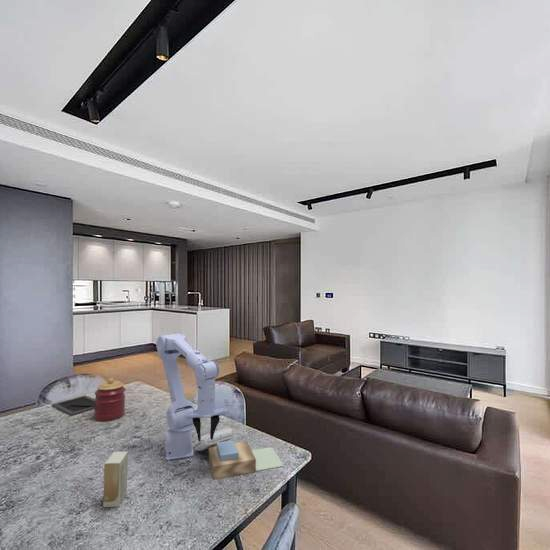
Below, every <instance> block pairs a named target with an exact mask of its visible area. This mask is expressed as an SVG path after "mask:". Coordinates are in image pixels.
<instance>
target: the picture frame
mask: <svg viewBox="0 0 550 550" xmlns="http://www.w3.org/2000/svg"><path fill="white" fill-rule="evenodd" d="M94 400H95V398H93V397H91V396H87V395H81V396H77V397H73V398H70V399H67V400H63V401H58V402H56V403H51V407H52V408H55V409H56V410H58V411H60V412H62V413H64V414H66V415H68V416H69V417H73V416H76V415H80V414H83V413H87V412H90V411H92V410H94V409H95V401H94Z"/></svg>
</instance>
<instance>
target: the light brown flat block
mask: <svg viewBox="0 0 550 550" xmlns="http://www.w3.org/2000/svg"><path fill="white" fill-rule="evenodd" d="M234 443H235V445H236V448H237V450H238V453H239V456H238V459H235V460H228V461H222V462H220V458H219V455H218V452H217V446H210V447H209V449H208V461H209V465H210V466H209V467H210V470H211V476H212V478H213V480H218V479H223V478H227V477H234V476H238V475H244V474H250V473H255V472H257V471H256V459H255V457H254V455H253V453H252V451H251V450H252V448H251V446H250V445H249V443H248V441H247V440H246V441H239V442H234Z"/></svg>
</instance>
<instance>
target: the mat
mask: <svg viewBox="0 0 550 550" xmlns="http://www.w3.org/2000/svg"><path fill="white" fill-rule="evenodd" d="M251 451H252V453H253V455H254V457H255V459H256V472H260V471H267V470H273V469H278V468H284V467H285V466H284V464H283V462H282V460H281V459H280V457H279V456H278V454H277V452H276V451H275V450H274V447H272V446H271V447H265V448H258V449H253V450H252V449H251Z"/></svg>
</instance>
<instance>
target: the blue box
mask: <svg viewBox="0 0 550 550" xmlns="http://www.w3.org/2000/svg"><path fill="white" fill-rule="evenodd" d="M235 443H236V442H235V441H234V440H232V439H230V440H229V441H225V442H218V443H217V452H218V455H219V458H220V462H222V461H228V460H235V459H238V456H239V453H238V450H237V448H236V445H235Z"/></svg>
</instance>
